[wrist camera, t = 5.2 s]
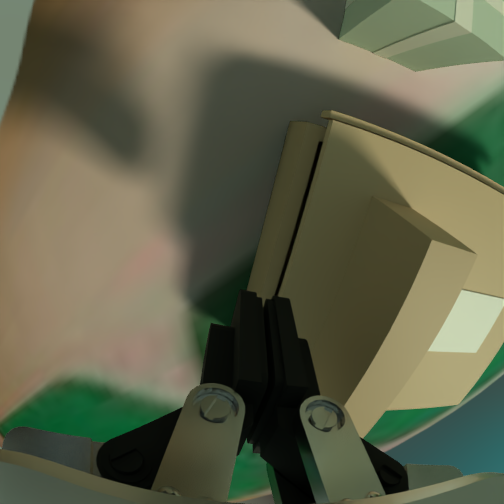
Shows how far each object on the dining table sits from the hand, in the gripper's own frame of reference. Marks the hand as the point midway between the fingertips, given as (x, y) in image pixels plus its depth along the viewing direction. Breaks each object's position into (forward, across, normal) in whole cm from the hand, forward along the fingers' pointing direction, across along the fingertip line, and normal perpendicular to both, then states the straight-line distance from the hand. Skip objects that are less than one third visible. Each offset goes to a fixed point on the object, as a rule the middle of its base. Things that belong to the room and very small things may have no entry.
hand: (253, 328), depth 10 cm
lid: (+5, -10, 0) cm, 11 cm away
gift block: (+8, -4, -15) cm, 18 cm away
